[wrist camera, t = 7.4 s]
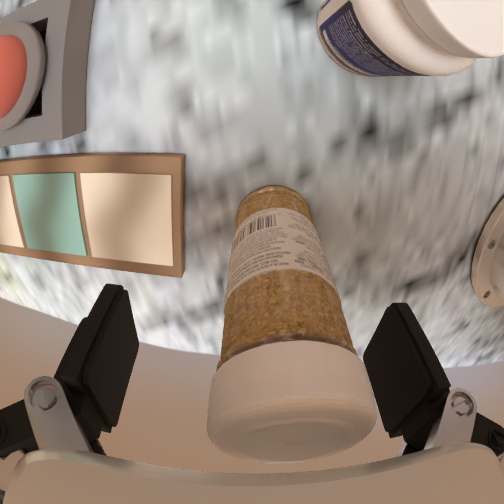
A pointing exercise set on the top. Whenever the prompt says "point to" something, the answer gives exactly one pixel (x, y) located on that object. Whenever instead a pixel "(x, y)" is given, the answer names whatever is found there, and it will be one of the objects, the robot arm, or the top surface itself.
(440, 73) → the pill bottle
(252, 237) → the sprinkles bottle
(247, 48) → the top surface
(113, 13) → the top surface
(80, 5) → the button housing
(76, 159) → the board
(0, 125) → the dome button
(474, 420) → the robot arm
